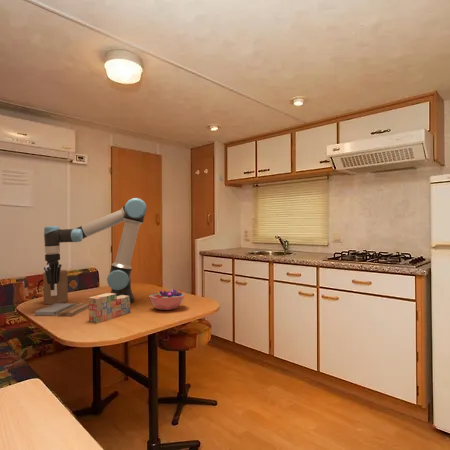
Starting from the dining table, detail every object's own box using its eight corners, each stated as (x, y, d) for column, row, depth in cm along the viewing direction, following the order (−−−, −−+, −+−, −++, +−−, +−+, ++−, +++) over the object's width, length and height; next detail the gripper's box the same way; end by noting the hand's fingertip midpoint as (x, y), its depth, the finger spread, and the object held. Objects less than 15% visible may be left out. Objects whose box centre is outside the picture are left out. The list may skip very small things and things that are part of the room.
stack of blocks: (122, 311, 182) (122, 289, 182) (130, 312, 178) (130, 290, 178) (88, 321, 164) (88, 297, 164) (96, 323, 160) (96, 298, 160)
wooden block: (57, 305, 198) (56, 272, 197) (43, 304, 200) (42, 272, 199) (68, 301, 207) (67, 269, 207) (54, 300, 209) (54, 269, 209)
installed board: (91, 307, 192) (91, 303, 192) (72, 316, 172) (72, 312, 172) (78, 307, 193) (78, 303, 193) (57, 316, 173) (57, 312, 173)
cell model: (154, 305, 194) (153, 286, 194) (187, 305, 193) (187, 286, 192) (145, 313, 177) (145, 292, 177) (182, 313, 176) (181, 292, 176)
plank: (74, 307, 192) (74, 303, 192) (56, 315, 174) (56, 311, 174) (55, 306, 193) (55, 303, 193) (34, 315, 175) (34, 311, 175)
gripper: (53, 252, 191) (54, 292, 191) (38, 254, 178) (40, 298, 178) (65, 252, 190) (66, 292, 190) (51, 254, 177) (53, 298, 177)
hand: (54, 295), depth 184 cm, fingers closed
